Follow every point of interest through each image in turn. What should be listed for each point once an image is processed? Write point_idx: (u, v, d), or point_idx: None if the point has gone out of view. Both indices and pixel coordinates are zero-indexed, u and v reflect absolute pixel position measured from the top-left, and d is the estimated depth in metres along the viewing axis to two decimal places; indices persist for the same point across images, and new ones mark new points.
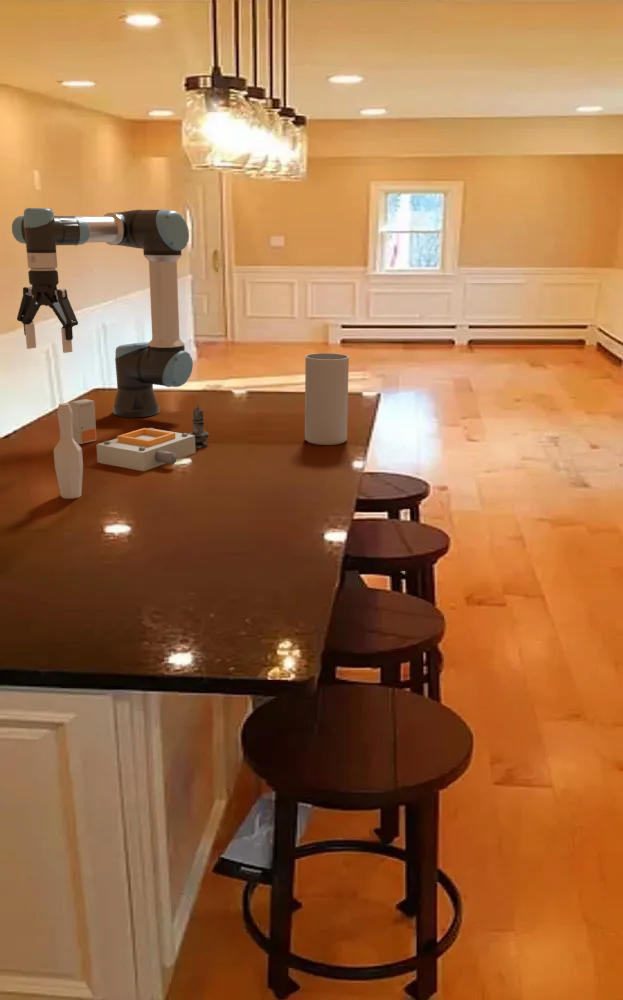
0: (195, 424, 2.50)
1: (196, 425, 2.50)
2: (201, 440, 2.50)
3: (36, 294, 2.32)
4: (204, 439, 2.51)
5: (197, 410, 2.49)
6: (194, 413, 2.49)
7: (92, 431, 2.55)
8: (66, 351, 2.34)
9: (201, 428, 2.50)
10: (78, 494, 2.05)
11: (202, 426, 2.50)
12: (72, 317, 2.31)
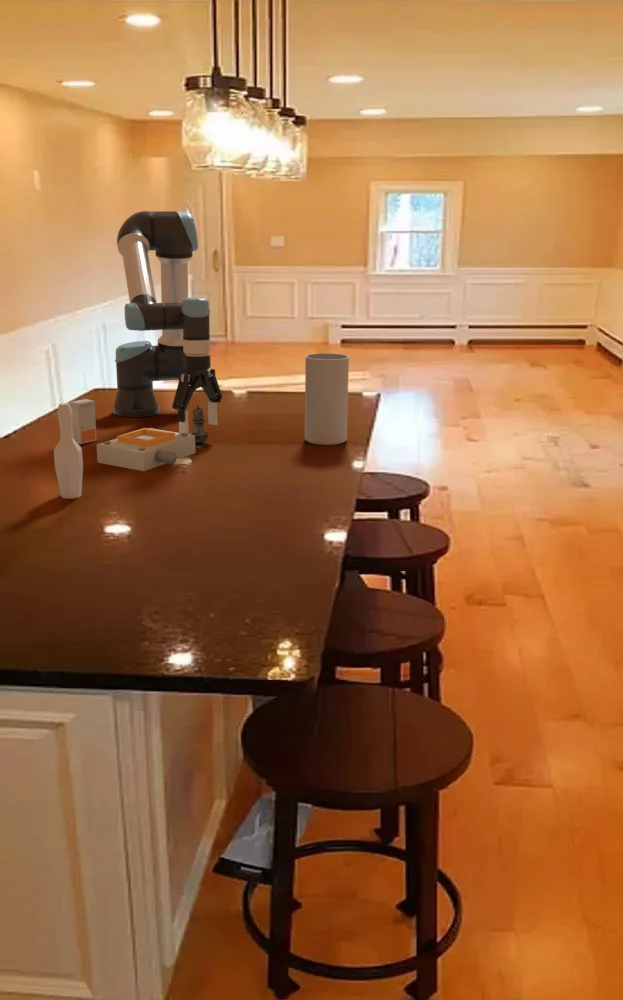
0: (195, 424, 2.50)
1: (196, 425, 2.50)
2: (201, 440, 2.50)
3: None
4: (204, 439, 2.51)
5: (197, 410, 2.49)
6: (194, 413, 2.49)
7: (92, 431, 2.55)
8: (180, 431, 2.45)
9: (201, 428, 2.50)
10: (78, 494, 2.05)
11: (202, 426, 2.50)
12: (177, 401, 2.40)
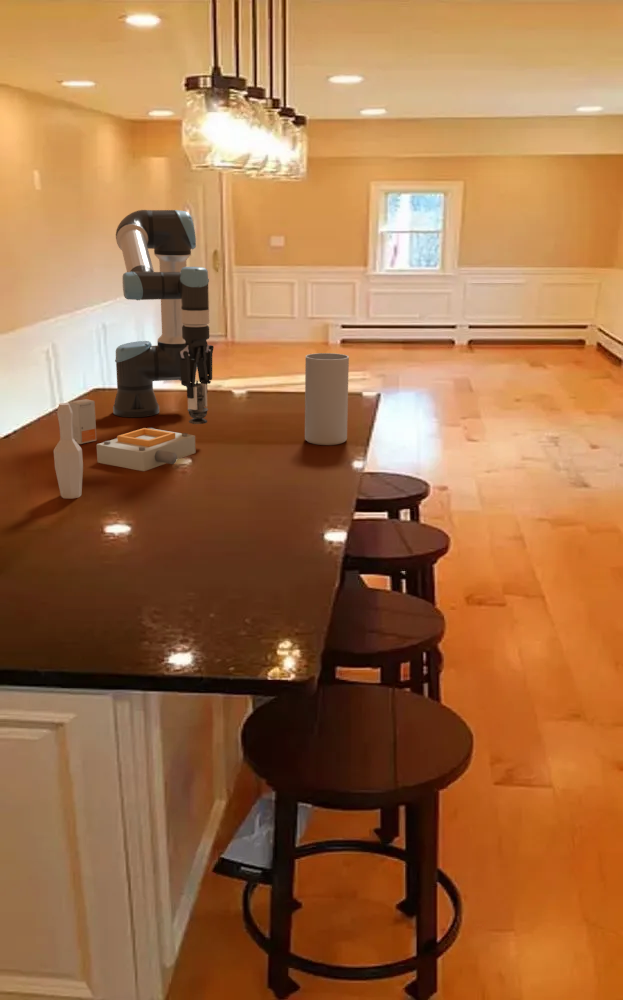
0: None
1: None
2: (200, 416, 2.48)
3: None
4: (203, 415, 2.49)
5: (196, 386, 2.47)
6: None
7: (92, 431, 2.55)
8: (189, 408, 2.48)
9: (200, 404, 2.48)
10: (78, 494, 2.05)
11: (201, 402, 2.49)
12: (184, 379, 2.42)
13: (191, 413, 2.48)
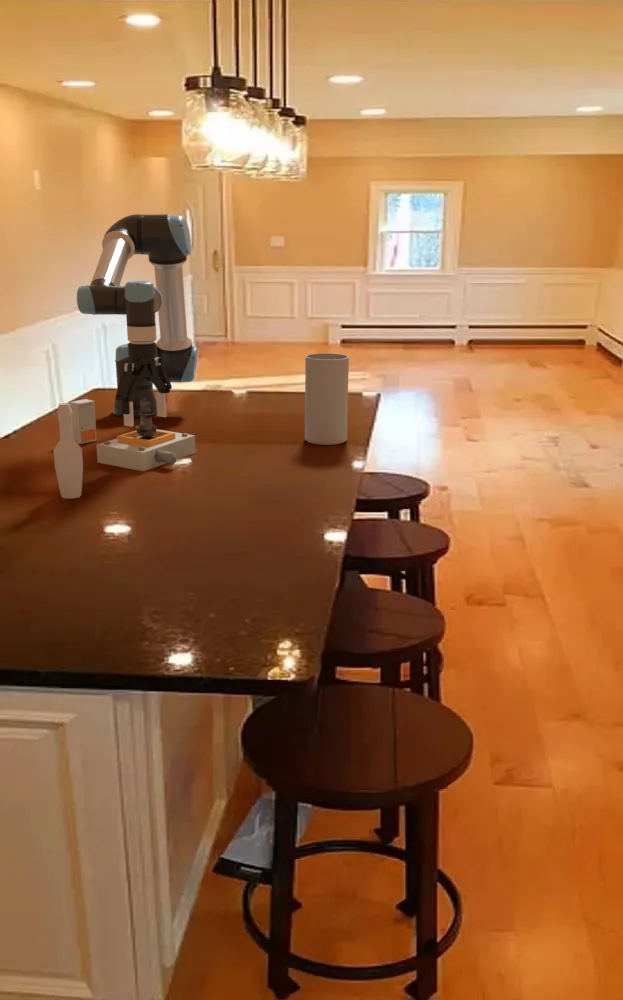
0: (142, 417, 2.35)
1: (143, 418, 2.35)
2: (148, 434, 2.36)
3: None
4: (152, 433, 2.36)
5: (144, 402, 2.34)
6: (141, 405, 2.34)
7: (92, 431, 2.55)
8: (125, 424, 2.31)
9: (149, 421, 2.36)
10: (78, 494, 2.05)
11: (150, 419, 2.36)
12: (120, 392, 2.26)
13: (139, 431, 2.35)
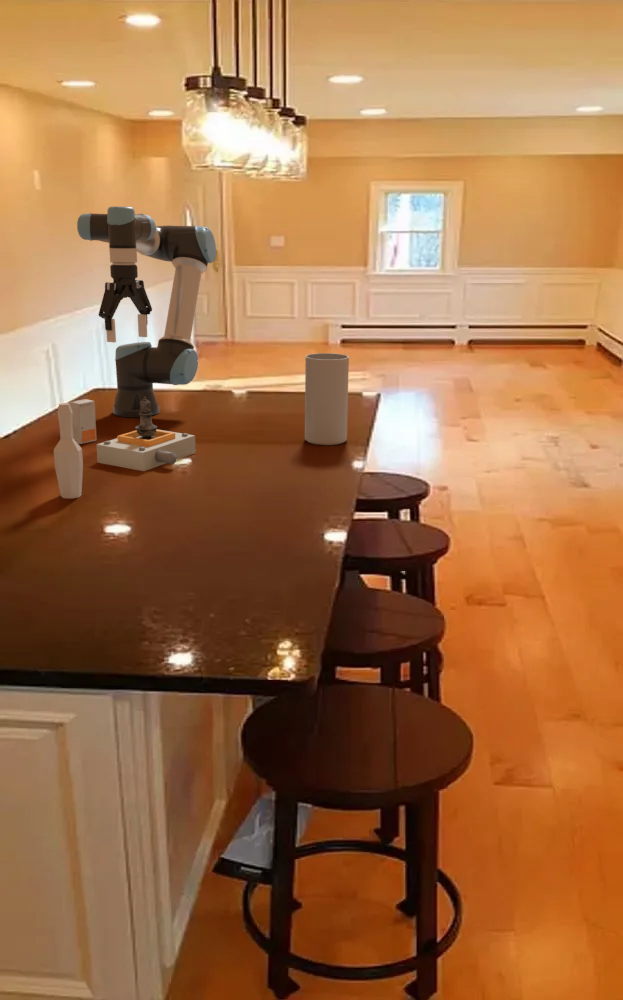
0: (142, 417, 2.35)
1: (143, 418, 2.35)
2: (148, 434, 2.36)
3: None
4: (152, 433, 2.36)
5: (144, 402, 2.34)
6: (141, 405, 2.34)
7: (92, 431, 2.55)
8: (108, 340, 2.49)
9: (149, 421, 2.36)
10: (78, 494, 2.05)
11: (149, 419, 2.36)
12: (103, 309, 2.44)
13: (139, 431, 2.35)
